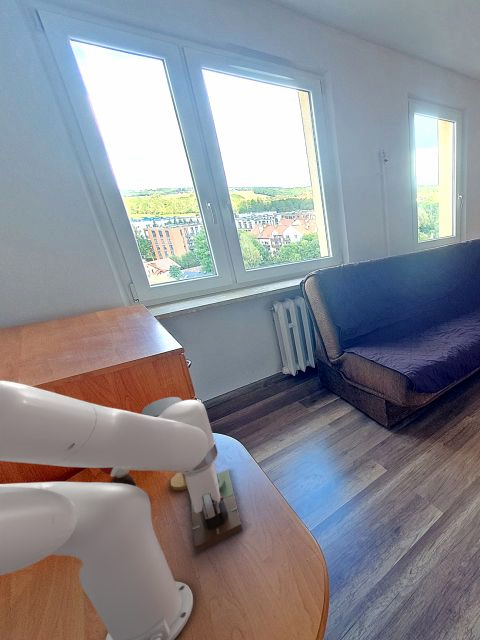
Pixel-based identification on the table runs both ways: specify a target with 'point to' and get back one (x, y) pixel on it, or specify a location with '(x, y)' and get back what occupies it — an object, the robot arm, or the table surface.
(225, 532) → the dimmer panel
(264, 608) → the table surface
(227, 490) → the switch base
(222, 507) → the dimmer knob
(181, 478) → the desk lamp
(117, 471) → the grandmother figurine
